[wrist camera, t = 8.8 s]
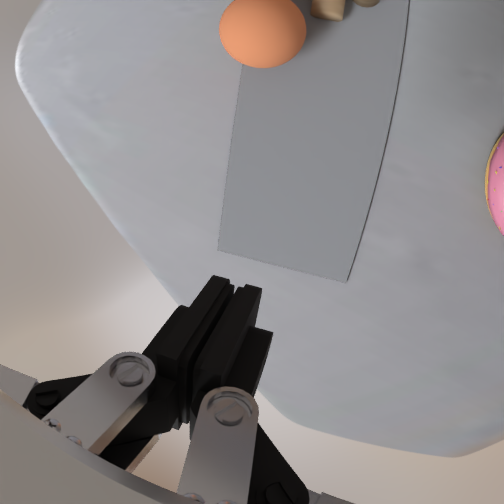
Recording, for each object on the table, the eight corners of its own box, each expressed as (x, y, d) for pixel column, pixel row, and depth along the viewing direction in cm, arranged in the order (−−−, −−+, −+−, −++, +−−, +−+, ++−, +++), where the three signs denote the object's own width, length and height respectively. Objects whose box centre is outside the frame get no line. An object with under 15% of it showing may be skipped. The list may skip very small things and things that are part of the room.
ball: (256, -36, 14) (261, 32, 14) (318, -2, 18) (329, 63, 18) (203, 5, 18) (202, 69, 19) (263, 27, 22) (267, 86, 23)
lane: (411, -59, 13) (412, -60, 13) (345, 282, 28) (345, 283, 28) (270, -81, 15) (270, -82, 15) (218, 249, 30) (217, 250, 30)
